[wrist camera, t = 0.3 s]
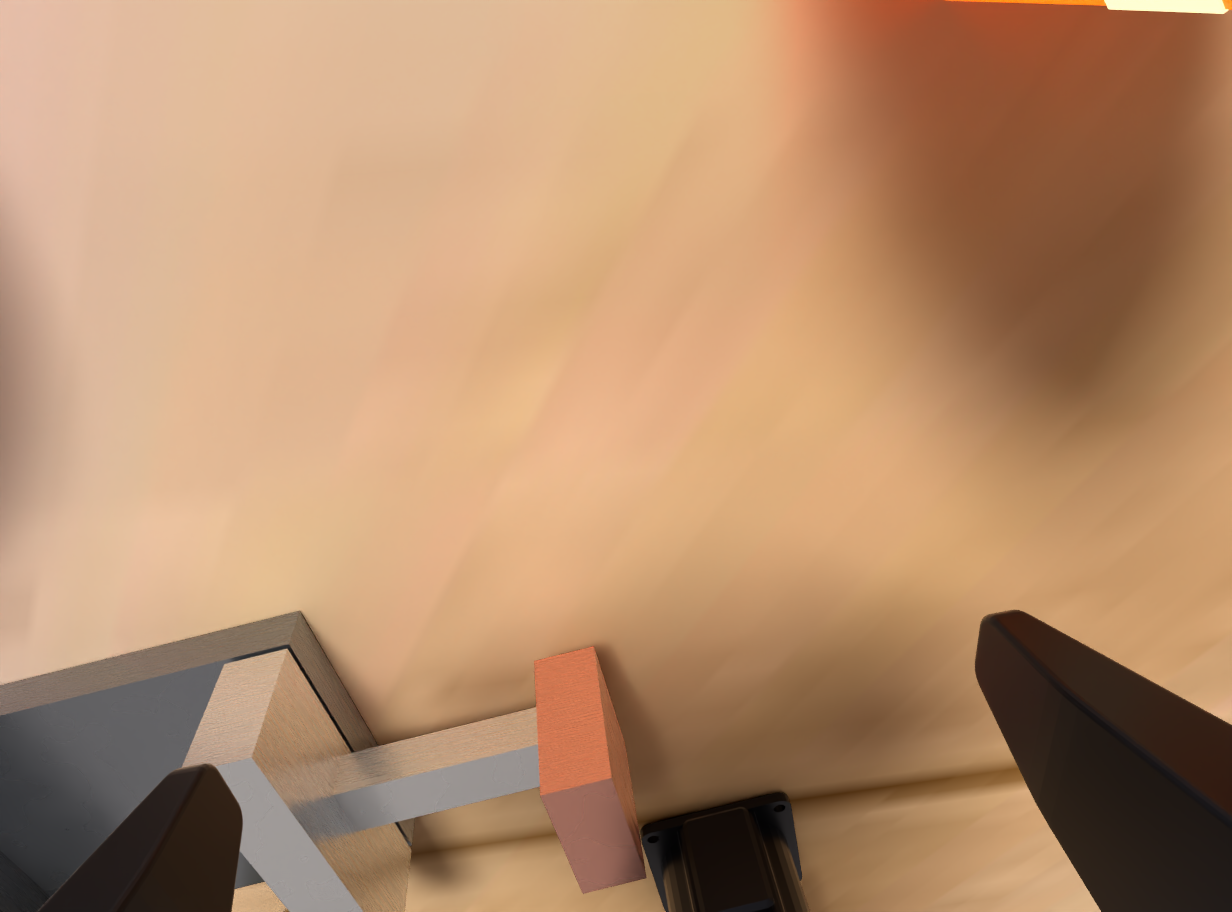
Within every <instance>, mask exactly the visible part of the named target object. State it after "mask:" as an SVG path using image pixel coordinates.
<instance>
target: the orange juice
mask: <svg viewBox="0 0 1232 912" xmlns="http://www.w3.org/2000/svg"><path fill="white" fill-rule="evenodd" d="M945 1H977V2H1008V3H1040V4H1072V5H1103V6H1107V8H1108V9H1110V10H1137V11H1163V12H1190V13H1216V14H1224V13H1225V12H1227V11H1228V10H1229V9H1230V10H1232V0H945Z"/></svg>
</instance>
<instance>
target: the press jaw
mask: <svg viewBox="0 0 1232 912" xmlns="http://www.w3.org/2000/svg"><path fill="white" fill-rule="evenodd" d="M534 665H535V688H536V707H535V708H531V709H527V710H523V711H518V712H514V713H510V714H506V715H502V716H498V717H494V718H490V719H486V720H482V721H478V722H474V723H470V724H466V725H462V726H458V727H454V728H450V729H446V730H442V731H438V732H434V733H430V734H426V735H422V736H417V737H413V738H409V739H405V740H401V741H397V742H393V743H389V744H385V745H381V746H377V747H373V748H369V749H365V750H361V751H357V752H353V753H351V751H350V749H349V748H348V746H347V745H346V743H345V741H344V740H343V738H342V737H341V735H340V733H339V732H338V730H337V728H336V727H335V725H334V724H333V722H332V720H331V719H330V717H329V715H328V714H327V712H326V711H325V709H324V707H323V706H322V704H321V702H320V701H319V699H318V698H317V696H316V694H315V693H314V691H313V689H312V688H311V686H310V685H309V683H308V681H307V680H306V678H305V676H304V675H303V673H302V672H301V670H300V668H299V667H298V665H297V663H296V662H295V660H294V659H293V657H292V655H291V654H290V652H289V650H288V649H283V650H279V651H275V652H271V653H267V654H263V655H259V656H255V657H251V658H247V659H243V660H239V661H235V662H231V663H227V664H224V666H223V669H222V671H221V673H220V676H219V678H218V681H217V683H216V685H215V688H214V690H213V693H212V695H211V698H210V700H209V702H208V705H207V707H206V710H205V712H204V715H203V717H202V719H201V722H200V724H199V727H198V729H197V731H196V734H195V736H194V739H193V741H192V744H191V746H190V748H189V751H188V753H187V756H186V758H185V761H184V763H183V765H182V768H183V767H188V766H193V765H198V764H204V763H210V764H212V765H213V766H215V767H216V768H217V769H218V771H219V772H220V774H221V775H222V777H223V779H224V780H225V782H226V784H227V785H228V787H229V788H230V790H231V792H232V793H233V795H234V797H235V798H236V800H237V801H238V803H239V805H240V807H241V811H242V816H243V830H242V837H241V845H240V852H241V853H242V854H243V855H244V857H245V858H246V859H247V860H248V861H249V863H250V864H251V865H252V866H253V868H254V869H255V870H256V871H257V872H258V874H259V875H260V876H261V877H262V879H263V880H264V881H265V882H266V883H267V885H268V886H269V887H270V888H271V890H272V891H273V892H274V893H275V894H276V896H277V897H278V898H279V899H280V901H281V902H282V903H283V904H284V905H285V907H286V908H287V909H288V910H289V911H290V912H405V906H406V896H407V887H408V878H409V869H410V859H411V849H410V847H409V845H408V844H407V842H406V840H405V839H404V837H403V836H402V834H401V832H400V831H399V829H398V827H397V826H396V824H395V823H394V822H398V821H402V820H407V819H411V818H415V817H419V816H423V815H427V814H431V813H435V812H439V811H443V810H447V809H451V808H455V807H459V806H463V805H467V804H471V803H475V802H479V801H483V800H488V799H492V798H496V797H500V796H504V795H508V794H512V793H516V792H520V791H524V790H528V789H532V788H536V787H540V796H541V798H542V801H543V803H544V805H545V808H546V810H547V812H548V815H549V817H550V819H551V821H552V824H553V826H554V828H555V831H556V833H557V835H558V838H559V840H560V842H561V844H562V847H563V849H564V851H565V854H566V856H567V858H568V861H569V863H570V865H571V867H572V870H573V872H574V874H575V877H576V879H577V881H578V884H579V886H580V888H581V890H582V893H583V894H584V893H588V892H592V891H596V890H600V889H604V888H608V887H612V886H616V885H620V884H624V883H628V882H632V881H636V880H641V879H645V878H646V872H645V866H644V859H643V853H642V847H641V841H640V834H639V828H638V822H637V815H636V809H635V803H634V797H633V790H632V784H631V778H630V772H629V765H628V759H627V753H626V746H625V742H624V739H623V736H622V732H621V729H620V726H619V723H618V720H617V717H616V714H615V711H614V708H613V705H612V701H611V698H610V695H609V692H608V689H607V686H606V683H605V680H604V677H603V673H602V670H601V667H600V664H599V661H598V658H597V655H596V652H595V649H594V646H593V647H589V648H585V649H581V650H577V651H573V652H569V653H565V654H561V655H557V656H552V657H548V658H544V659H540V660H536V661H534Z"/></svg>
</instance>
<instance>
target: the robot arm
mask: <svg viewBox="0 0 1232 912" xmlns="http://www.w3.org/2000/svg"><path fill="white" fill-rule="evenodd" d="M975 673H976V677H977V680H978V683H979V686H980V688H981V690H982V692H983V694H984V696H985V698H986V700H987V703H988V705H989V707H990V709H991V711H992V713H993V715H994V717H995V719H996V721H997V724H998V726H999V728H1000V730H1001V732H1002V734H1003V736H1004V738H1005V740H1006V742H1007V744H1008V747H1009V749H1010V751H1011V753H1012V755H1013V757H1014V759H1015V761H1016V763H1017V765H1018V768H1019V770H1020V772H1021V774H1022V776H1023V778H1024V780H1025V782H1026V784H1027V786H1028V788H1029V790H1030V792H1031V794H1032V796H1033V798H1034V800H1035V802H1036V804H1037V806H1038V808H1039V809H1040V811H1041V813H1042V815H1043V816H1044V818H1045V820H1046V821H1047V823H1048V825H1049V827H1050V828H1051V830H1052V832H1053V833H1054V835H1055V836H1056V838H1057V840H1058V841H1059V843H1060V845H1061V846H1062V848H1063V850H1064V851H1065V853H1066V854H1067V856H1068V858H1069V859H1070V861H1071V863H1072V864H1073V866H1074V868H1075V869H1076V871H1077V873H1078V874H1079V876H1080V877H1081V879H1082V881H1083V882H1084V884H1085V886H1086V887H1087V889H1088V891H1089V892H1090V894H1091V895H1092V897H1093V899H1094V900H1095V902H1096V904H1097V905H1098V907H1099V909H1100V910H1101V912H1232V725H1231V724H1229V723H1227V722H1225V721H1223V720H1222V719H1220V718H1218V717H1216V716H1214V715H1212V714H1211V713H1209V712H1207V711H1205V710H1203V709H1201V708H1200V707H1198V706H1196V705H1194V704H1192V703H1190V702H1189V701H1187V700H1185V699H1183V698H1181V697H1179V696H1178V695H1176V694H1174V693H1172V692H1170V691H1168V690H1167V689H1165V688H1163V687H1161V686H1159V685H1157V684H1156V683H1154V682H1152V681H1150V680H1148V679H1146V678H1145V677H1143V676H1141V675H1139V674H1137V673H1135V672H1134V671H1132V670H1130V669H1128V668H1126V667H1124V666H1123V665H1121V664H1119V663H1117V662H1115V661H1114V660H1112V659H1110V658H1108V657H1106V656H1104V655H1103V654H1101V653H1099V652H1097V651H1095V650H1093V649H1092V648H1090V647H1088V646H1086V645H1084V644H1082V643H1081V642H1079V641H1077V640H1075V639H1073V638H1071V637H1070V636H1068V635H1066V634H1064V633H1062V632H1060V631H1059V630H1057V629H1055V628H1053V627H1051V626H1049V625H1048V624H1046V623H1044V622H1042V621H1040V620H1038V619H1037V618H1035V617H1033V616H1031V615H1029V614H1027V613H1025V612H1023V611H1020V610H1010V611H1004V612H999V613H994V614H989V615H986V616H985V617H984V618H983V619H982V621H981V624H980V630H979V637H978V644H977V651H976V659H975ZM242 830H243V816H242V811H241V807H240V805H239V803H238V801H237V800H236V798H235V797H234V795H233V793H232V792H231V790H230V788H229V787H228V785H227V784H226V782H225V780H224V779H223V777H222V775H221V774H220V772H219V771H218V769H217V768H216V767H215V766H213V765H212V764H210V763H204V764H198V765H193V766H188V767H183V768H178V769H176V770H173V771H172V772H170V773H169V774H168V775H167V776H166V777H165V778H164V779H163V780H162V781H161V782H160V783H159V784H158V785H157V786H156V787H155V788H154V789H153V790H152V791H151V792H150V793H149V794H148V795H147V797H146V798H145V799H144V800H143V801H142V802H141V803H140V804H139V805H138V806H137V807H136V808H135V809H134V810H133V811H132V812H131V813H130V814H129V815H128V816H127V818H126V819H125V820H124V821H123V822H122V823H121V824H120V825H119V826H118V827H117V828H116V829H115V830H114V831H113V832H112V833H111V834H110V835H109V836H108V838H107V839H106V840H105V841H104V842H103V843H102V844H101V845H100V846H99V847H98V848H97V849H96V850H95V851H94V852H93V853H92V854H91V855H90V856H89V857H88V859H87V860H86V861H85V862H84V863H83V864H82V865H81V866H80V867H79V868H78V869H77V870H76V871H75V872H74V873H73V874H72V875H71V876H70V877H69V878H68V880H67V881H66V882H65V883H64V884H63V885H62V886H61V887H60V888H59V889H58V890H57V891H56V892H55V893H54V894H53V895H52V896H51V897H50V898H49V899H48V901H47V902H46V903H45V904H44V905H43V906H42V907H41V908H40V909H39V910H38V911H37V912H231V911H232V904H233V897H234V889H235V882H236V874H237V867H238V860H239V852H240V845H241V837H242ZM640 834H641V841H642V845H643V847H644V850H645V853H646V856H647V859H648V862H649V865H650V868H651V871H652V874H653V877H654V880H655V883H656V886H657V889H658V892H659V895H660V898H661V901H662V903H663V906H664V909H665V911H666V912H810V910H809V907H808V904H807V901H806V898H805V895H804V892H803V889H802V886H801V883H800V881H801V879H802V872H801V866H800V860H799V853H798V847H797V840H796V834H795V828H794V821H793V815H792V809H791V804H790V801H789V798H788V796H787V795H786V794H785V793H774V794H770V795H766V796H762V797H758V798H754V799H750V800H745V801H741V802H737V803H733V804H729V805H725V806H721V807H717V808H713V809H709V810H705V811H701V812H697V813H693V814H689V815H685V816H680V817H676V818H672V819H668V820H664V821H660V822H656V823H652V824H649V825H646V826H644V827H643V828H642V829H641V831H640Z"/></svg>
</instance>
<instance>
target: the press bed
mask: <svg viewBox="0 0 1232 912" xmlns="http://www.w3.org/2000/svg"><path fill="white" fill-rule="evenodd" d="M283 649H288V650H289V652H290V654H291V655H292V657H293V659H294V660H295V662H296V663H297V665H298V667H299V668H300V670H301V672H302V673H303V675H304V676H305V678H306V680H307V681H308V683H309V685H310V686H311V688H312V689H313V691H314V693H315V694H316V696H317V698H318V699H319V701H320V702H321V704H322V706H323V707H324V709H325V711H326V712H327V714H328V715H329V717H330V719H331V720H332V722H333V724H334V725H335V727H336V728H337V730H338V732H339V733H340V735H341V737H342V738H343V740H344V741H345V743H346V745H347V746H348V748H349V749H350V751H351V753H353V752H357V751H361V750H365V749H369V748H373V747H377V746H378V745H377V743H376V741H375V739H374V738H373V736H372V734H371V733H370V731H369V729H368V727H367V726H366V724H365V722H364V721H363V719H362V717H361V715H360V714H359V712H358V710H357V709H356V707H355V705H354V703H353V702H352V700H351V698H350V696H349V695H348V693H347V691H346V690H345V688H344V686H343V684H342V683H341V681H340V679H339V678H338V676H337V674H336V672H335V671H334V669H333V667H332V666H331V664H330V662H329V660H328V659H327V657H326V655H325V654H324V652H323V650H322V648H321V647H320V645H319V643H318V642H317V640H316V638H315V636H314V635H313V633H312V631H311V630H310V628H309V626H308V624H307V623H306V621H305V619H304V618H303V616H302V614H301V612H300V611H297V612H293V613H289V614H285V615H281V616H277V617H273V618H269V619H265V620H261V621H257V622H253V623H249V624H245V625H241V626H237V627H233V628H229V629H225V630H221V631H217V632H213V633H209V634H205V635H201V636H197V637H193V638H189V639H185V640H181V641H177V642H173V643H169V644H165V645H161V646H157V647H153V648H149V649H145V650H141V651H137V652H133V653H129V654H125V655H121V656H117V657H113V658H109V659H105V660H101V661H97V662H93V663H89V664H85V665H81V666H77V667H73V668H68V669H64V670H60V671H56V672H52V673H48V674H44V675H40V676H36V677H32V678H28V679H24V680H20V681H16V682H12V683H8V684H4V685H0V912H37V911H38V910H39V909H40V908H41V907H42V906H43V905H44V904H45V903H46V902H47V901H48V899H49V898H50V897H51V896H52V895H53V894H54V893H55V892H56V891H57V890H58V889H59V888H60V887H61V886H62V885H63V884H64V883H65V882H66V881H67V880H68V878H69V877H70V876H71V875H72V874H73V873H74V872H75V871H76V870H77V869H78V868H79V867H80V866H81V865H82V864H83V863H84V862H85V861H86V860H87V859H88V857H89V856H90V855H91V854H92V853H93V852H94V851H95V850H96V849H97V848H98V847H99V846H100V845H101V844H102V843H103V842H104V841H105V840H106V839H107V838H108V836H109V835H110V834H111V833H112V832H113V831H114V830H115V829H116V828H117V827H118V826H119V825H120V824H121V823H122V822H123V821H124V820H125V819H126V818H127V816H128V815H129V814H130V813H131V812H132V811H133V810H134V809H135V808H136V807H137V806H138V805H139V804H140V803H141V802H142V801H143V800H144V799H145V798H146V797H147V795H148V794H149V793H150V792H151V791H152V790H153V789H154V788H155V787H156V786H157V785H158V784H159V783H160V782H161V781H162V780H163V779H164V778H165V777H166V776H167V775H168V774H169V773H170V772H172V771H173V770H176V769H178V768H182V765H183V763H184V761H185V758H186V756H187V753H188V751H189V748H190V746H191V744H192V741H193V739H194V736H195V734H196V731H197V729H198V727H199V724H200V722H201V719H202V717H203V715H204V712H205V710H206V707H207V705H208V702H209V700H210V698H211V695H212V693H213V690H214V688H215V685H216V683H217V681H218V678H219V676H220V673H221V671H222V669H223V666H224V664H227V663H231V662H235V661H239V660H243V659H247V658H251V657H255V656H259V655H263V654H267V653H271V652H275V651H279V650H283ZM414 822H415V818H411V819H407V820H402V821H398V822H394V823H395V824H396V826H397V827H398V829H399V831H400V832H401V834H402V836H403V837H404V839H405V840H406V842H407V844H408V845H409V846H411V845H412V841H413V831H414ZM261 882H265V881H264V880H263V879H262V877H261V876H260V875H259V874H258V872H257V871H256V870H255V869H254V868H253V866H252V865H251V864H250V863H249V861H248V860H247V859H246V858H245V857H244V855H243V854H242V853H241V852H239V860H238V867H237V874H236V882H235V889H237V888H241V887H245V886H249V885H253V884H257V883H261Z"/></svg>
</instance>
